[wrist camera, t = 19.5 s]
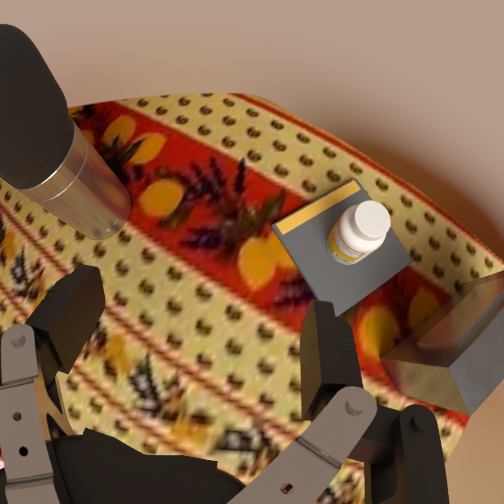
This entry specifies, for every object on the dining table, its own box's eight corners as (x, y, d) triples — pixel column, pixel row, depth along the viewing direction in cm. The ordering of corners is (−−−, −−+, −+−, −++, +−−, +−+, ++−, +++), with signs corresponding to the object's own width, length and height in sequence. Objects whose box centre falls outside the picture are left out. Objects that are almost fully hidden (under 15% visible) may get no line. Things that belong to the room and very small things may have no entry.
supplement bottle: (359, 221, 40) (386, 190, 30) (370, 260, 39) (403, 238, 29) (321, 228, 40) (341, 197, 30) (332, 269, 38) (357, 249, 29)
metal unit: (378, 355, 37) (446, 364, 21) (463, 280, 39) (537, 254, 23) (400, 395, 35) (471, 420, 20) (482, 318, 37) (557, 305, 22)
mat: (271, 227, 41) (271, 224, 40) (353, 180, 43) (355, 177, 41) (330, 320, 38) (332, 319, 37) (409, 262, 40) (412, 261, 38)
